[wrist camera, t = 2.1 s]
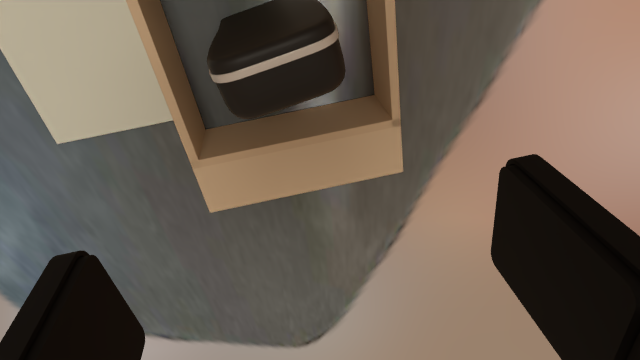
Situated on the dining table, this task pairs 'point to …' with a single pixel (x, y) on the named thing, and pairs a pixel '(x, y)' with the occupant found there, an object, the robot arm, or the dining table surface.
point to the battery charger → (276, 57)
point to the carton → (283, 125)
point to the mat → (82, 66)
